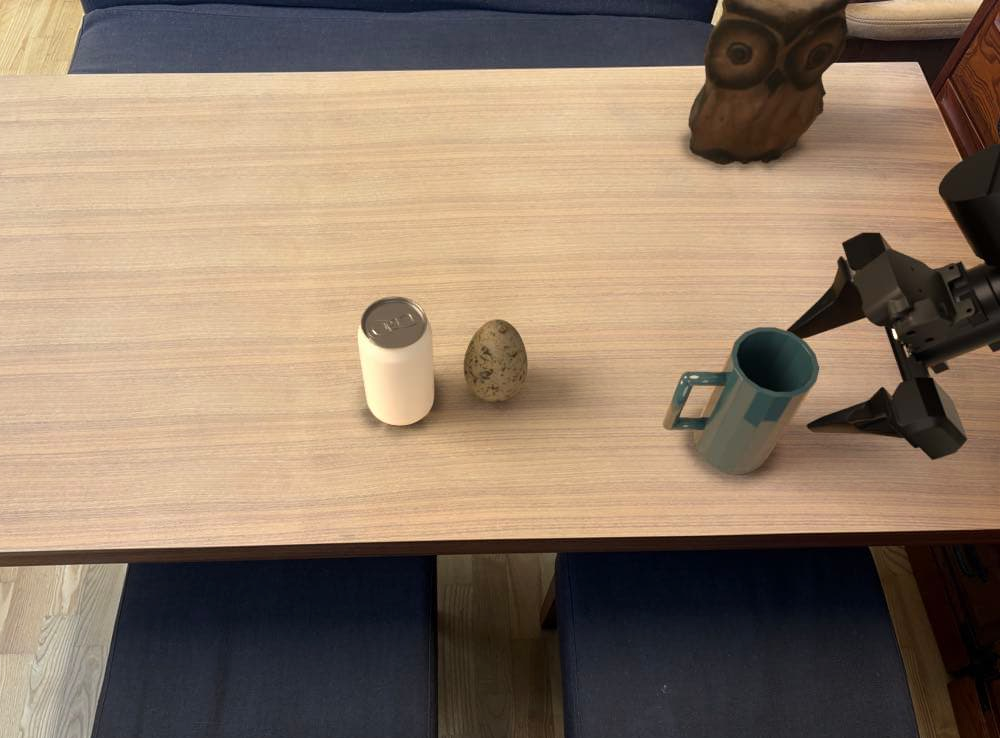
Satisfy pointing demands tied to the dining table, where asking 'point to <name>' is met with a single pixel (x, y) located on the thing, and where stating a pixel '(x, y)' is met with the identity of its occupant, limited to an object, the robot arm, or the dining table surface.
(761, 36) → the owl
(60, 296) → the dining table surface
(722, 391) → the teal mug
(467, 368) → the decorative egg
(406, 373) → the can
